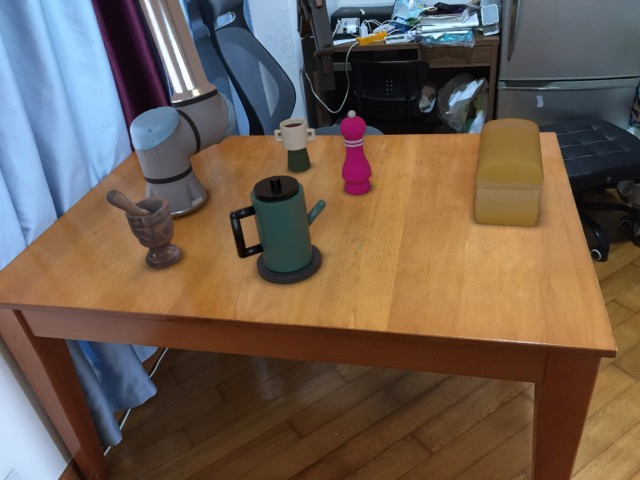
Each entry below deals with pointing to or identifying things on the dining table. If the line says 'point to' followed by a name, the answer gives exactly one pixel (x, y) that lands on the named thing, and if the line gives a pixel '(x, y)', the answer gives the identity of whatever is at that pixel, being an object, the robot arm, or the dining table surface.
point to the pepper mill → (355, 155)
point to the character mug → (295, 142)
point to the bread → (508, 173)
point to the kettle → (278, 224)
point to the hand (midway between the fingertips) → (319, 80)
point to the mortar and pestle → (150, 227)
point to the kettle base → (293, 275)
